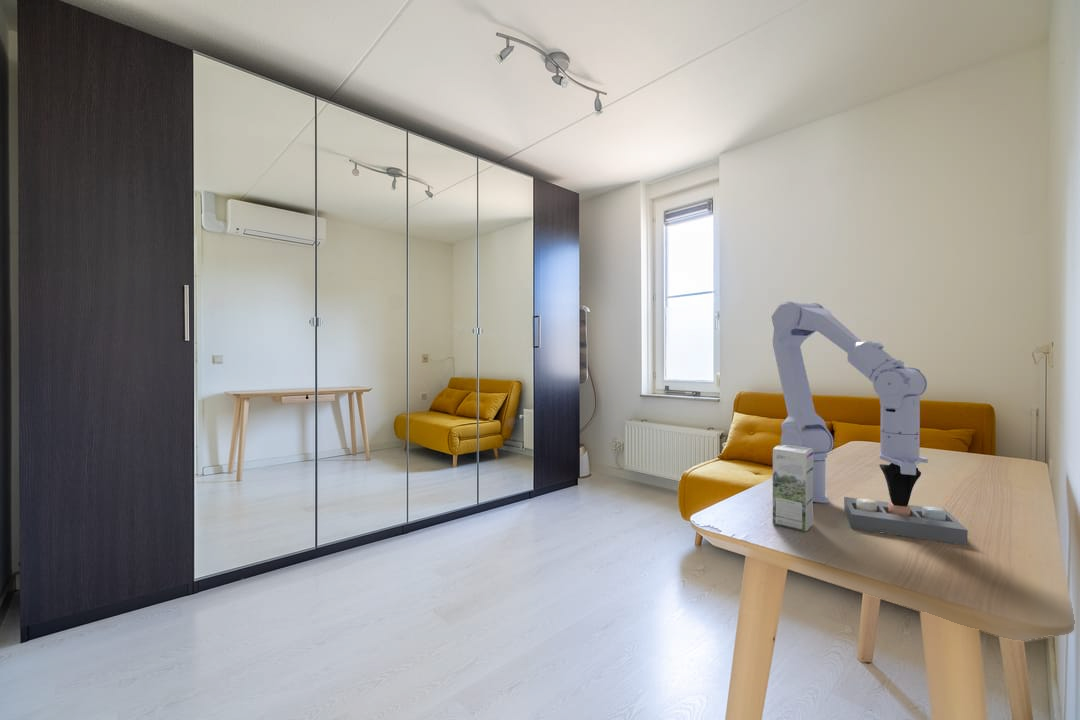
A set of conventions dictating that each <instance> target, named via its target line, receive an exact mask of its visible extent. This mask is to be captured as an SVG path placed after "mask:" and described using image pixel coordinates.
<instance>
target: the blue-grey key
mask: <svg viewBox="0 0 1080 720" xmlns="http://www.w3.org/2000/svg"><path fill="white" fill-rule="evenodd" d="M943 509H944V508H939V507H937V506H930V505H929V506H926V505H925V506H922V518H926V519H934V520H941V521H946V511H947V510H946V509H945V510H946V511H945V510H943Z"/></svg>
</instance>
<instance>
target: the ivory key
mask: <svg viewBox="0 0 1080 720" xmlns="http://www.w3.org/2000/svg"><path fill="white" fill-rule="evenodd" d="M876 501H877V500H873V499H869V498H863V497H862V498H857V499H856V509H858V510H866V511H874V512H877V502H876Z"/></svg>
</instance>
